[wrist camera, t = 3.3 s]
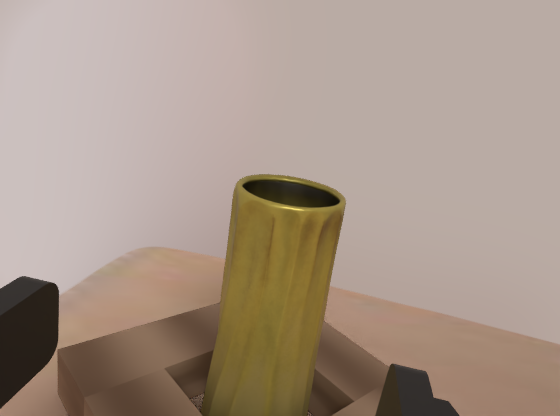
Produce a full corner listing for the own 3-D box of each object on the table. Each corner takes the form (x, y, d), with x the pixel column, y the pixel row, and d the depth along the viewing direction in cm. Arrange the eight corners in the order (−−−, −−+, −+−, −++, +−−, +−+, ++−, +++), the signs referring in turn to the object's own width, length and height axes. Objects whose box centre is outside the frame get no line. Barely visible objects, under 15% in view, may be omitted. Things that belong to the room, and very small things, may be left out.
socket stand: (270, 319, 36) (275, 286, 35) (449, 462, 25) (464, 420, 24) (57, 393, 26) (57, 349, 25) (207, 694, 15) (217, 636, 14)
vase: (221, 378, 29) (249, 164, 24) (313, 407, 28) (361, 188, 23) (178, 452, 23) (204, 191, 19) (291, 492, 22) (349, 224, 17)
